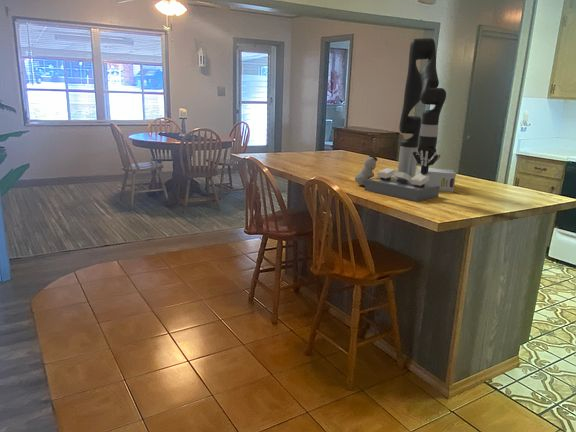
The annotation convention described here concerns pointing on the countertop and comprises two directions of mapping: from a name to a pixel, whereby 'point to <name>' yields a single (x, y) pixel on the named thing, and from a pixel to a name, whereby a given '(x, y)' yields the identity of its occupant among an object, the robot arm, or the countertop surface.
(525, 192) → the countertop surface
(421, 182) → the switch
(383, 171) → the switch
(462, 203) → the countertop surface
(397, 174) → the switch
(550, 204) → the countertop surface
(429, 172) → the supplement box
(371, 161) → the figurine
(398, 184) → the grey tray
